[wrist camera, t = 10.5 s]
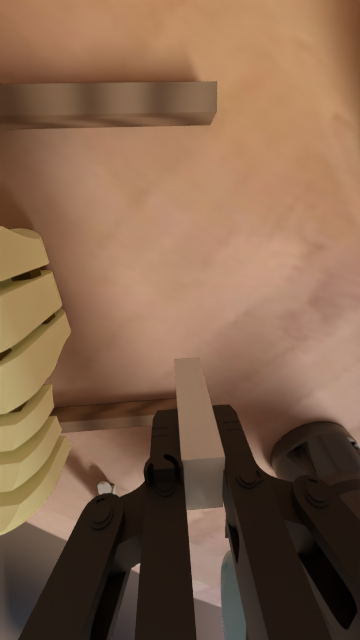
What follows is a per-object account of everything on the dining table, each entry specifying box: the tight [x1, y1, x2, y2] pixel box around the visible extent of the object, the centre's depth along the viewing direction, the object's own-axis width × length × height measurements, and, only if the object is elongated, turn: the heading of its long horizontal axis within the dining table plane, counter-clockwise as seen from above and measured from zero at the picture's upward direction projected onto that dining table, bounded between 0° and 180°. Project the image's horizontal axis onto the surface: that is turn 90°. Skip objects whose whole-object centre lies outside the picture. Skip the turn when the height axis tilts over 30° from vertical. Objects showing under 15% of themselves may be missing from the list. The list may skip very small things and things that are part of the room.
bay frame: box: [0, 81, 217, 433], centre depth 26 cm, size 36×38×5 cm
